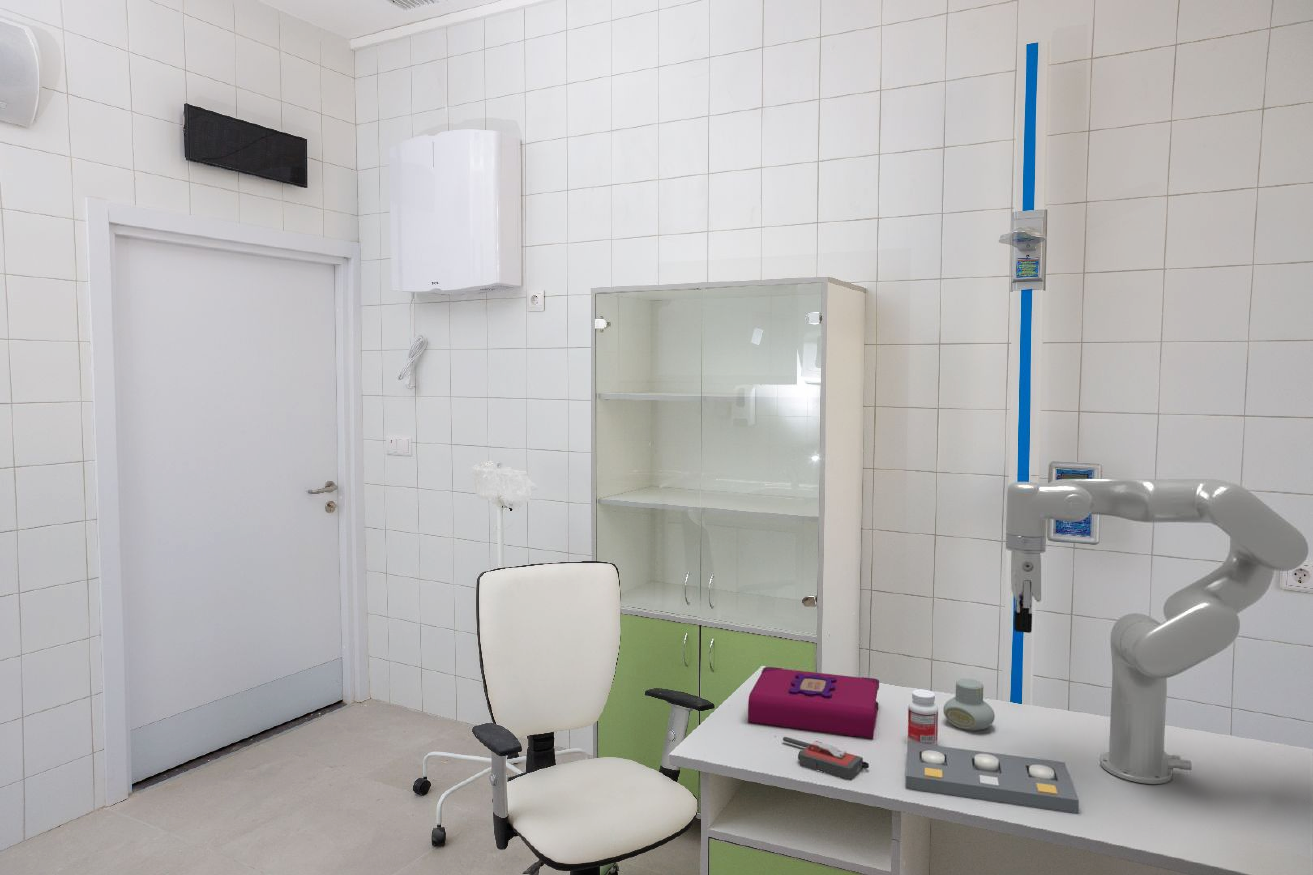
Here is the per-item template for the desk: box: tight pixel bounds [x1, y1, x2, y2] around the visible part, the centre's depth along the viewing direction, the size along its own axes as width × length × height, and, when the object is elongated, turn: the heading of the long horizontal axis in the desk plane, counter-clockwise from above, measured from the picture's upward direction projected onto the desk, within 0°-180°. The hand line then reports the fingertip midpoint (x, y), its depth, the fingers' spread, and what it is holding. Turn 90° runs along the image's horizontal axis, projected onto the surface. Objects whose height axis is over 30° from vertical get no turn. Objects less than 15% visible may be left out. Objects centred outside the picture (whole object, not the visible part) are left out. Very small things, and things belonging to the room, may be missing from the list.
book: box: [747, 666, 880, 739], centre depth 196 cm, size 21×28×8 cm
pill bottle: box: [907, 688, 939, 746], centre depth 181 cm, size 6×6×11 cm
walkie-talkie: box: [782, 736, 870, 781], centre depth 172 cm, size 9×4×20 cm
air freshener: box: [943, 678, 996, 731], centre depth 190 cm, size 11×8×10 cm
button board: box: [905, 741, 1080, 814], centre depth 163 cm, size 30×16×3 cm, turn 72°
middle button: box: [974, 754, 999, 772], centre depth 165 cm, size 4×4×2 cm
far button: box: [921, 750, 945, 765], centre depth 168 cm, size 4×4×2 cm
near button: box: [1029, 765, 1054, 780], centre depth 162 cm, size 4×4×2 cm
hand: (1022, 630), depth 171 cm, fingers closed
